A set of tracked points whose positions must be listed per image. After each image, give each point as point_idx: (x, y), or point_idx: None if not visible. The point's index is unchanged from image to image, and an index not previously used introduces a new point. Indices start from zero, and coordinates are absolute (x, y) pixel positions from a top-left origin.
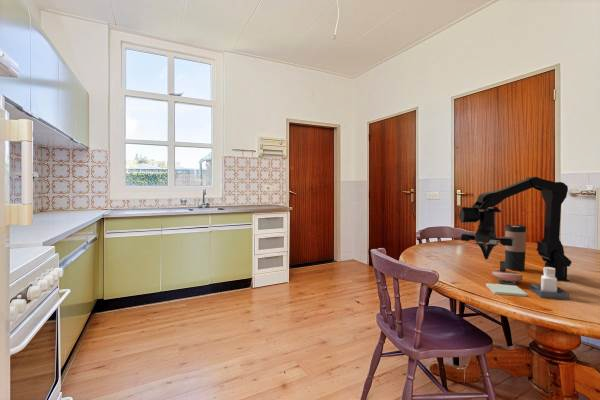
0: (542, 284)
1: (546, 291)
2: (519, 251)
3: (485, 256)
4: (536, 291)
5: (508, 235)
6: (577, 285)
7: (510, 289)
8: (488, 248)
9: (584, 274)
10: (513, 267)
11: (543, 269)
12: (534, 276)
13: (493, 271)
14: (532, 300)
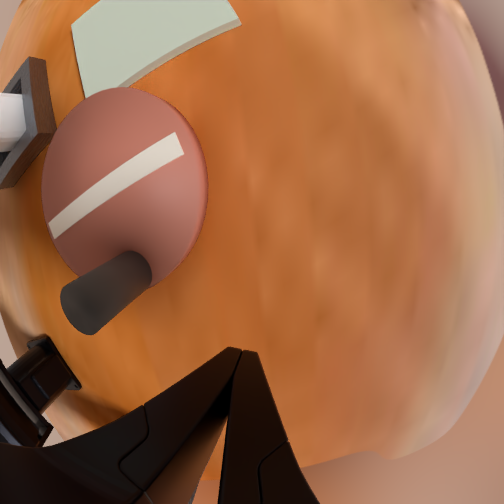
0: (3, 95)
1: (16, 77)
2: None
3: (242, 371)
4: (39, 84)
5: None
6: (10, 307)
7: (117, 20)
8: (112, 473)
9: (51, 412)
10: None
11: None
12: (90, 369)
13: (186, 206)
14: (74, 6)
